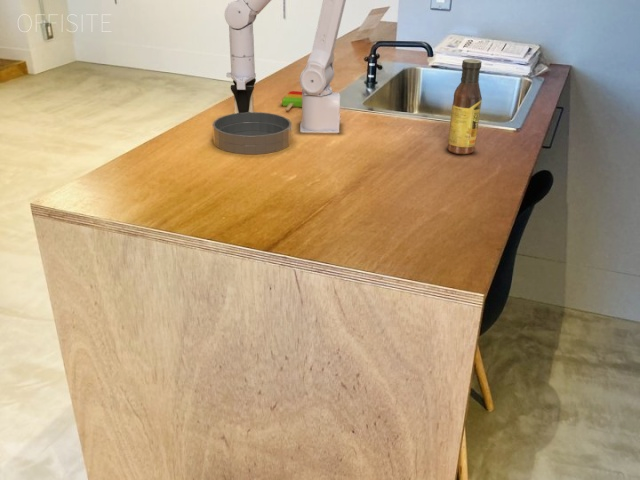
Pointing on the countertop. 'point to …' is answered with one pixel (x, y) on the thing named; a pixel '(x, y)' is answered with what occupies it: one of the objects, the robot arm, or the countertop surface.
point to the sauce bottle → (465, 110)
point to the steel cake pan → (252, 133)
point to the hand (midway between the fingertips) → (244, 111)
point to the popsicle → (292, 99)
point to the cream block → (251, 107)
